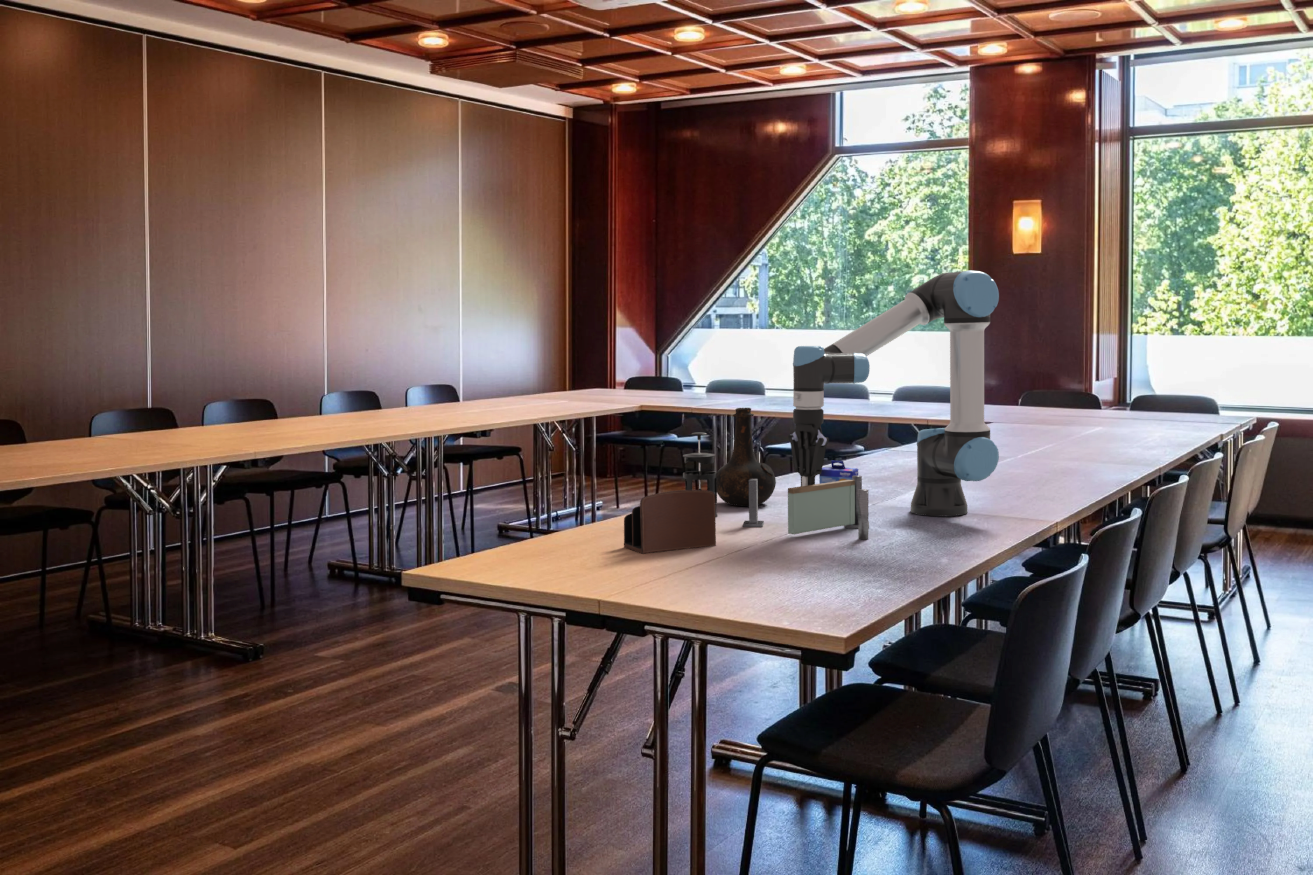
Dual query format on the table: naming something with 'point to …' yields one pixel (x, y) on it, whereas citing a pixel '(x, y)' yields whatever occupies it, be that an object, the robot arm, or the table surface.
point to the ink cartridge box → (837, 473)
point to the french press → (701, 475)
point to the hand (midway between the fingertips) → (807, 501)
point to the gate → (821, 506)
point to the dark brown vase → (744, 467)
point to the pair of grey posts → (860, 523)
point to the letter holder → (671, 522)
